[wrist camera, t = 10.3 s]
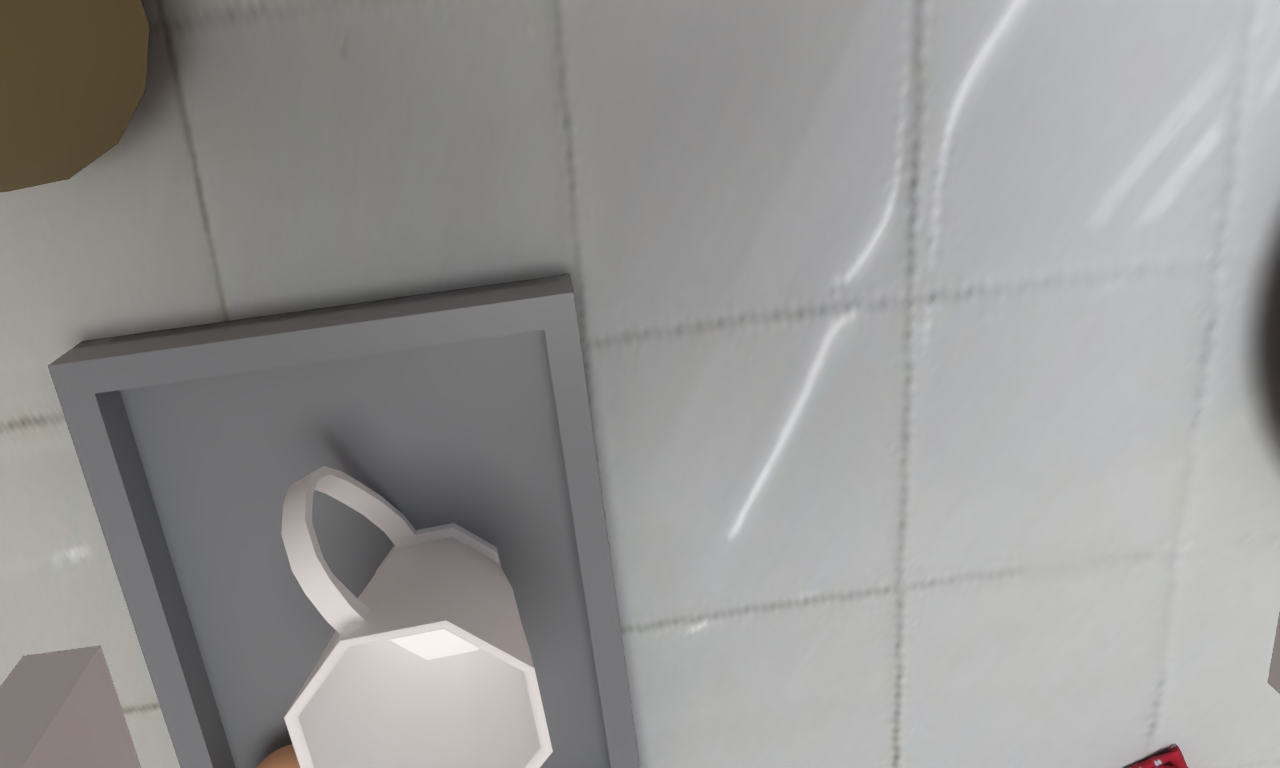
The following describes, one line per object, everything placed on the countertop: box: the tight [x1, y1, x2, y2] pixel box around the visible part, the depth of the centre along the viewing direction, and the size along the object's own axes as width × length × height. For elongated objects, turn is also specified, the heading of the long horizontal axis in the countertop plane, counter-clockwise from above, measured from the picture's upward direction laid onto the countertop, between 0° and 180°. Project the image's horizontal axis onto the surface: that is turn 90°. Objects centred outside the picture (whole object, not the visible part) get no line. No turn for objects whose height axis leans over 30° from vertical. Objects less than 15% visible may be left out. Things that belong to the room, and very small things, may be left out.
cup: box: [281, 466, 553, 768], centre depth 30 cm, size 7×10×8 cm
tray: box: [48, 274, 640, 768], centre depth 34 cm, size 20×15×2 cm
